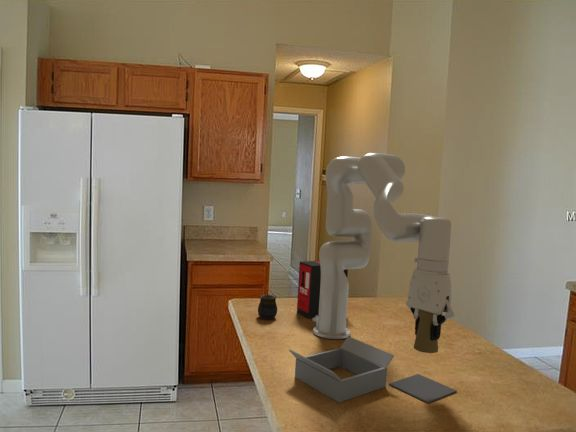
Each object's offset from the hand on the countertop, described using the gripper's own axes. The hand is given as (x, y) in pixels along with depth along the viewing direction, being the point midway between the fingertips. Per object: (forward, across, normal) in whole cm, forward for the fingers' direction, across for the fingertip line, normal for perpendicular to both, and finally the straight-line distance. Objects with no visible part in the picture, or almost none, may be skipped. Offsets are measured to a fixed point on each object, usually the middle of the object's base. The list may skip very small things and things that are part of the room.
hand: (427, 336), depth 124 cm
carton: (+14, -14, -16) cm, 25 cm away
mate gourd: (+14, -69, 0) cm, 70 cm away
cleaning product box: (+14, -64, +22) cm, 69 cm away
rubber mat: (+14, 0, 0) cm, 14 cm away
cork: (+3, 0, 0) cm, 3 cm away
